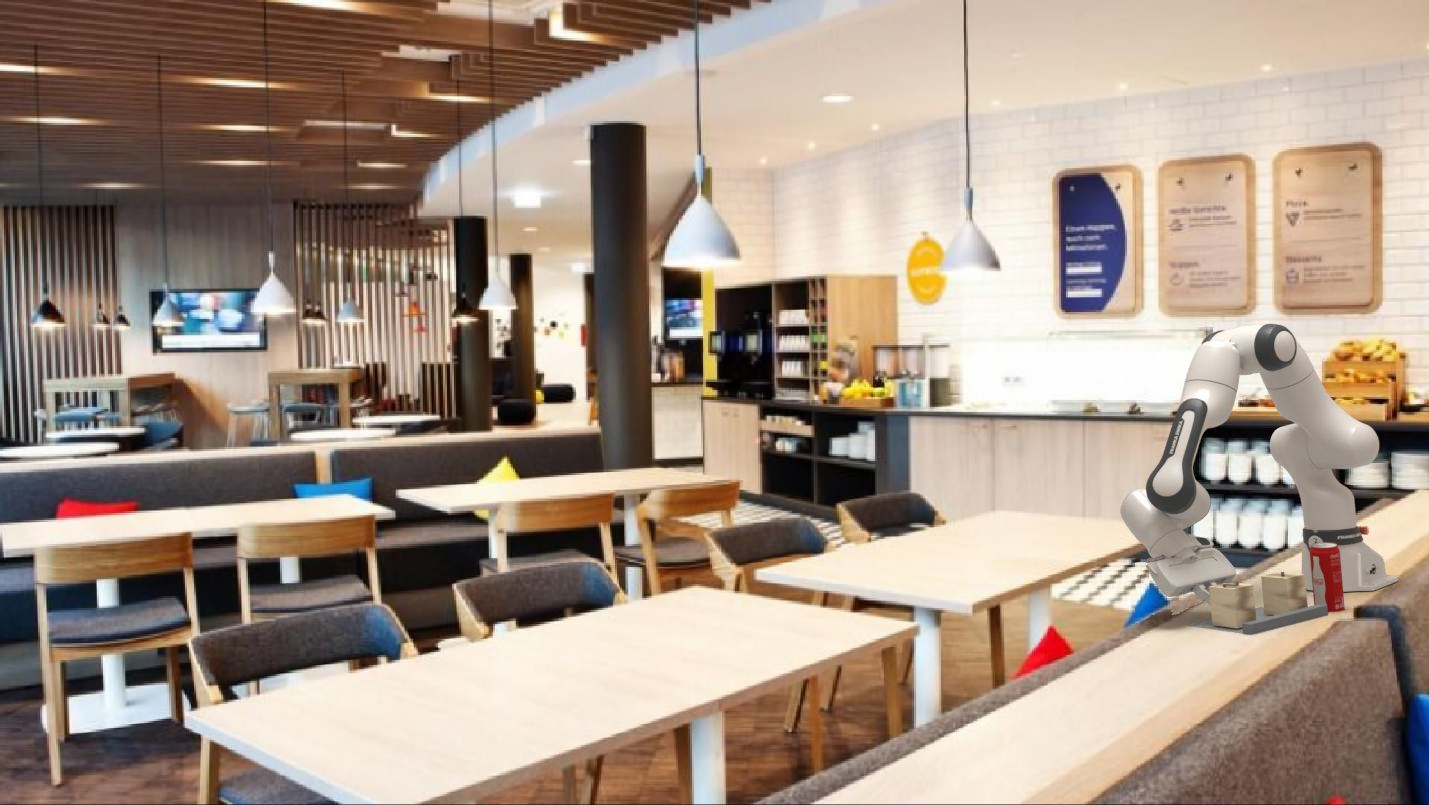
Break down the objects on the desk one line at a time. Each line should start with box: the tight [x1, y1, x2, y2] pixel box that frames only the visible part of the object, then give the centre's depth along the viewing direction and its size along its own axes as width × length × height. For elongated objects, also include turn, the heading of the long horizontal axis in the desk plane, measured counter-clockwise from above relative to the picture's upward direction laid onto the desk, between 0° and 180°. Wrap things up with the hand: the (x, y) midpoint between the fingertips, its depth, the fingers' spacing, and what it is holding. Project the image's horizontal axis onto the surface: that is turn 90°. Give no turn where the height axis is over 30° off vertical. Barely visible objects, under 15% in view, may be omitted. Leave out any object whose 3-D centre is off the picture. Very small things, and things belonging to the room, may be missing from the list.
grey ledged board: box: [1185, 604, 1329, 636], centre depth 254 cm, size 24×16×3 cm, turn 119°
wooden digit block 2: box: [1209, 581, 1256, 629], centre depth 250 cm, size 6×6×8 cm
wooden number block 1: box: [1260, 571, 1309, 615], centre depth 256 cm, size 6×6×8 cm
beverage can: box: [1310, 542, 1346, 613], centre depth 257 cm, size 6×6×15 cm
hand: (1217, 603), depth 253 cm, fingers closed, pressing on wooden digit block 2
